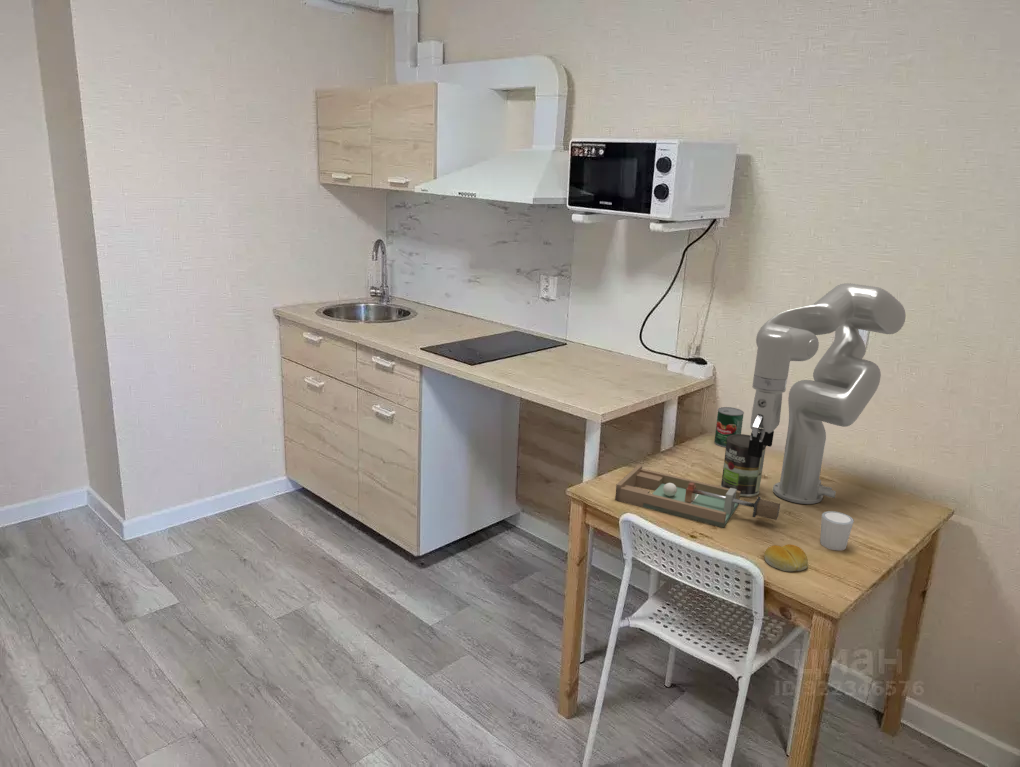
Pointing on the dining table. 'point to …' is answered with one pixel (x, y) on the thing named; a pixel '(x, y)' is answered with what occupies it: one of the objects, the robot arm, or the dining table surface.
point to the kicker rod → (739, 502)
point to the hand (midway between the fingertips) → (759, 450)
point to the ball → (669, 489)
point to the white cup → (835, 530)
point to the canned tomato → (728, 424)
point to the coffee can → (742, 466)
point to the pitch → (677, 496)
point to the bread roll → (786, 557)
